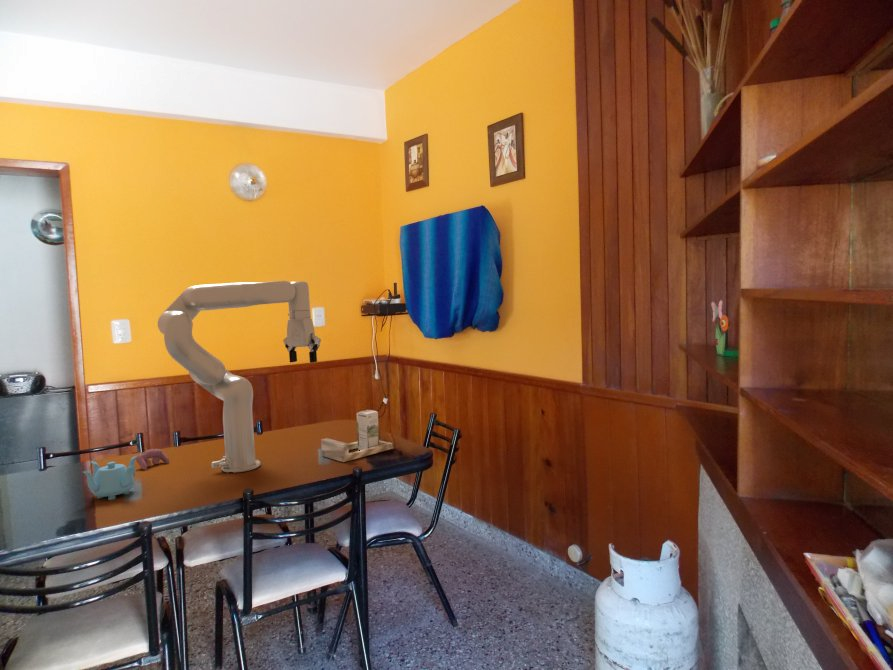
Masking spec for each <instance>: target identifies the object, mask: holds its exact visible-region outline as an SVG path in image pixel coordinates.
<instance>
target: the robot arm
mask: <svg viewBox="0 0 893 670" xmlns="http://www.w3.org/2000/svg"><path fill="white" fill-rule="evenodd" d="M309 290H310V287H309V283H308V282H307V281H303V280H302V281H301V280H300V281H287V280H277V281H275V280H273V281H263V282H262V281H261V282H260V281H259V282H257V281H256V282H248V281H247V282H243V281H242V282H226V283H225V282H224V283H208V284H197V285H192V286H189V287H187V288H186V289H184V290H183V291H182V293H180V294H179V296H178V297H177V298H176V299H175V300H174V301H173V302H172V303H171V304H170V305H169V306H168V307H167V308H166V309H165V310H164V311H163V312H162V313H161V315H159V317H158V320H157V328H158V331H159V332H160V333H161V334H163V335H164V337H163V341H164V345H165V349H166V351H167V353H168V354H169V356H170V357H171V358H172V360H174V361H175V362H177V363H178V364H179V365H180V366H181V367H183V368H184V369H185V370H187V372H188V375H189V377H190V378H191V379H192V380H193V381H194V382H195V383H196V384H198V385H199V386H201V387H202V388H203V389H205V390H206V391H207V392H209V393H210V394H211V395H213V396H214V397H216V398H217V399H219V400H221V401H223V407H222V425H223V427H222V428H223V440H224V454H225V455H223V456H222V457H221V458H220V460H216V461H211V463H210V465H211V466H210V467H211V468H212V469H213V468H221V471H222V472H224V473H229V472H233V474H234V473H243V472H248V471H252V470H255V469H257V468H259V467H260V466H261V461H260V460H259V459H256V451H255V436H254V435H255V433H254V417H253V402H254V401H253V399H254V390H253V385H252V383H251V382H250V381H249V380H248V379H247V378H245V377H243V376H240V375H238V374H237V375H236V374H233V373H232V372H230V371H229V370H228V369H227V368H226V366H225V364H224V363H223V362H222V361H221V360H220V359H219V358H218V357H216V356H215V355H213V354H212V353H210V352H209V351H208V350H206V349H205V348H204V347H202V346H201V344H199V343H197V341H196V340H195V338H194V336H193V327H194V322H193V320H194V319H195V318H196V317H197V315H198V314H200V312H201V311H202V312H203V311H214V310H215V311H216V310H224V309H225V310H226V309H239V308H248V307H252V306H258V305H260V306H261V305H270V304H272V305H273V304H281V303H282V304H283V303H288V313H287V315H288V317H289V318H288V320H287V323H286V324H287V325H286V337H285V338H284V339H283V340H282V341H283V344H284V346H285V348H286V349H287V352H288V355H289V356H288V357H289V363H295V362H298V358H297V357H298V356H297V355H298V354H297V353H298V352H297V350H296V349H297V347H298V348H299V347H300V348H306V347H307V348H308V350H309V352H308V355H309V363H310V364H311V363H317V362H318V358H317V357H318V355H317V351H319V348H320V346H321V345H320V344H321V341H322V338H320V337H318V336H317V335H316V333H315V332H316V331H315V327H314V322H313V319H312V317H311V301H310V291H309Z"/></svg>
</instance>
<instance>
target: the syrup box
mask: <svg viewBox="0 0 893 670" xmlns="http://www.w3.org/2000/svg"><path fill="white" fill-rule="evenodd" d="M356 431H357V433H356V436H357V441H358V448H357V451H359V450H364V449H368V448H371V447H375V446H379V440H380V437H379V435H380V433H379V412H378V411H376V410H372V409H366V410H361V411H359V412H356Z"/></svg>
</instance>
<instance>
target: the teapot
mask: <svg viewBox="0 0 893 670" xmlns="http://www.w3.org/2000/svg"><path fill="white" fill-rule="evenodd" d="M137 456H138V455H137V454H136V455H134V456H132V457H131V458H130V460H129V464H128V467H127V466H126V465H125V464H123V463H117V462H116V461H110V462H106V465H105V466H101V467H100V466H99V464H98V462H96V461H95V460H91V461H90V462H91V464H92V466H93V473H92V472H90V471H82V473H84V474H85V475H86V479H87V480H86V481H87V482H86V483H87V487H88V488H89V489H90V492H91V493H92V494H93V495H95V496H96V499H103V498H104V497H108V498H107V500H108V501H113V500H115V499H117V498H116V496H118V495H130V494H131V491H130V490H131V489H132V488H133V487H134V486H135V483H136V481H135V478H134V477H135V475H136V467H135V465H136V464H135V461H136V457H137Z"/></svg>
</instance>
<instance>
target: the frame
mask: <svg viewBox="0 0 893 670" xmlns="http://www.w3.org/2000/svg"><path fill="white" fill-rule="evenodd" d="M320 442H321V445H320V446H321V447H320V448H321V456H322V457H323V458H324V457H325V458H327V459H328V458H329V459H331V460H334V461H338V462H341V463H345V462H349V461H352V460H356V459H361V458H363V457H367V456H371V455H374V454H378V453H382V452H385V451H390V450H393V442H389V441H384V440H380V439H379V446H375V447H371V448H368V449H364V450H360V451H359V450H357V451H354V452H349V451H351V450H354V449H358V440H357V441H353V442H349V443H348V442H344V441H339V440H335V439H331V438H321V439H320Z"/></svg>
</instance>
